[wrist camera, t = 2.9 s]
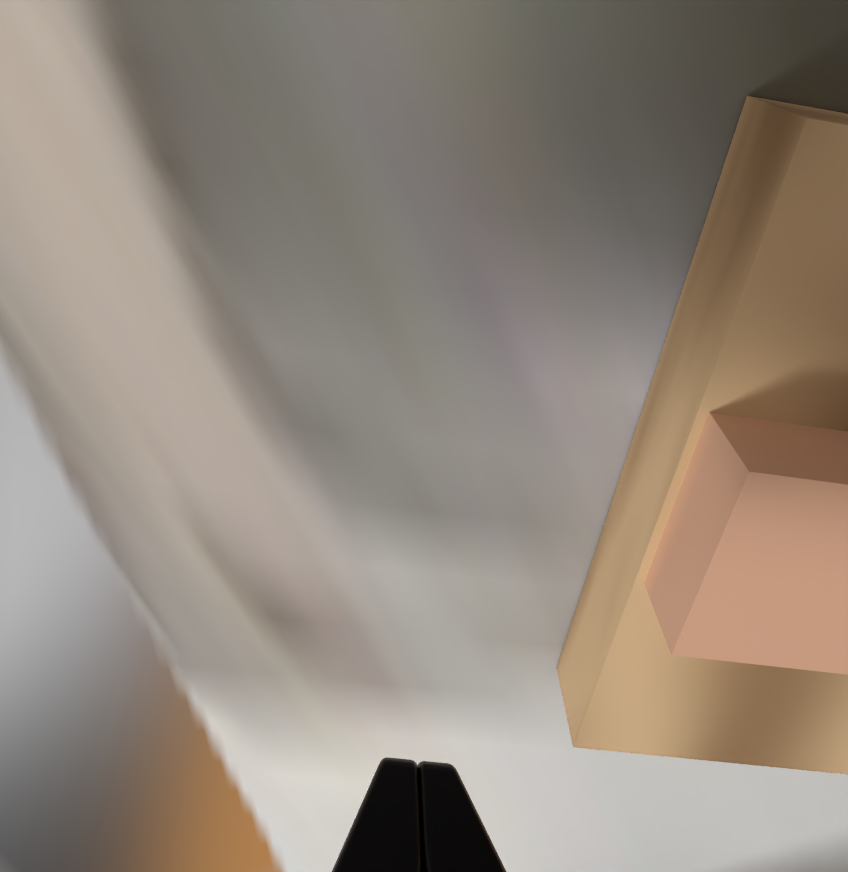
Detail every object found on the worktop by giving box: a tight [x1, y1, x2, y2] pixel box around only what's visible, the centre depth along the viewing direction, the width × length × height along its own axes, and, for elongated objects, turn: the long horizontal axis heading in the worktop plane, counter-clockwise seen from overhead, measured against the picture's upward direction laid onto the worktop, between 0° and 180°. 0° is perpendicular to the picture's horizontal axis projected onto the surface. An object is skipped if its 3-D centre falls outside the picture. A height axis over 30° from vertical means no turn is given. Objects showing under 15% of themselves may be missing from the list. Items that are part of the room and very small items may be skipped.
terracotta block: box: [644, 412, 848, 675], centre depth 15 cm, size 4×4×2 cm
